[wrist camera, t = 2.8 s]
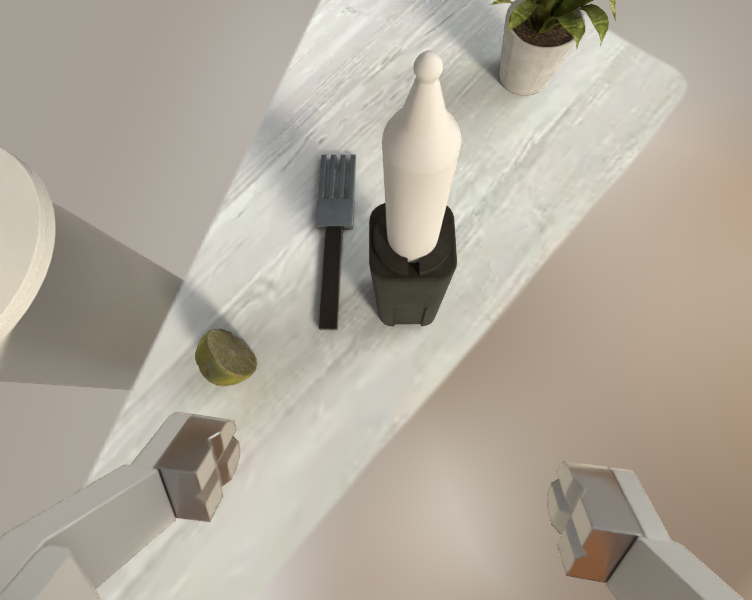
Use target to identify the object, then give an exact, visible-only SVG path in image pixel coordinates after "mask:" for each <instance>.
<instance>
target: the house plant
mask: <svg viewBox="0 0 752 600" xmlns="http://www.w3.org/2000/svg"><path fill="white" fill-rule="evenodd" d="M591 1H593V0H515V1H514V2H512V1H510V0H497V1H494V2H493V3H492V4H490V5H493V4H498V3H511V6H510V7H509V8H508V10H507V14H506V18H505V27H504V35H503V44H502V53H501V61H500V70H499V79H500V81H501V84H502V85H503V86H504V88H506V89H507V90H508V91H510V92H512V93H514V94H518V95H532V94H535V93H537V92H539V91H541V90H542V89H543V88H544V87H545V86H546V84H547V83H548V81H549V80H550V78H551V77H552V76H553V74H554V73H555V71H556V70H557V68H558V67H559V65H560V64H561V63H562V61H563V60H564V58H565V57H566V55H567V54H568V52H569V51H570V49H571V48H572V47H573V45H574V44H575V42H576V47H578V44H579V41H580V40H581V38H582V36H583V34H584V33H585V19H584V14H583V12H582V10H584V11H586V13H587V14H588V16H589V18H590V19H591V21H592V23H593V25H594V27H595V29H596V30H597V31H598V33H599V36H600V39H601V43H602V41H603V38H604V36H605V34H606V32H607V30H608V23H609V22H608V17H607V15H606V13H605V12H604V11H603V10H602V9H601V8H599V7H598V6H596V5H593V4H590V5H585V4H587V3H589V2H591ZM610 4H611V9H612V12H613V15H614V18H615V0H610ZM583 5H584V6H583ZM615 20H616V18H615ZM600 46H601V44H600Z"/></svg>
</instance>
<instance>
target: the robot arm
mask: <svg viewBox="0 0 752 600" xmlns="http://www.w3.org/2000/svg"><path fill="white" fill-rule="evenodd" d="M235 432H236V426H235V422H234V421H233V420H228V419H222V418H215V417H209V416H202V415H196V414H188V413H181V412H175V413H173V414H172V415H170V416H169V417H168V418H167V420H166V421H165V422H164V423H163V425H162V426H161V427H160V428H159V430H158V431H157V432H156V433H155V435H154V436H153V437H152V438H151V440H150V441H149V442H148V443H147V445H146V446H145V447H144V448H143V450H142V451H141V452H140V454H139V455H138V456H137V457H136V459H135V460H134V461H133V462H132V464H131V465H123V466H121V467H119V468H118V469H116V470H114V471H112V472H111V473H109V474H107V475H105V476H104V477H102V478H100V479H98V480H97V481H95V482H93V483H91V484H90V485H88V486H86V487H85V488H83V489H81V490H79V491H78V492H76V493H74V494H72V495H71V496H69V497H67V498H65V499H64V500H62V501H60V502H58V503H57V504H55V505H53V506H52V507H50V508H48V509H46V510H44V511H43V512H41V513H39V514H38V515H36V516H34V517H32V518H31V519H29V520H27V521H25V522H24V523H22V524H20V525H18V526H17V527H15V528H13V529H11V530H10V531H8V532H7V533H5V534H3V535H2V536H1V537H0V600H102V598H101V597H100V595H99V594H98V592H97V591H96V588H97V587H99V586H100V585H101V584H102V583H103V582H104V581H106V580H107V579H108V578H109V577H110V576H111V575H113V574H114V573H115V572H116V571H117V570H118V569H120V568H121V567H122V566H123V565H124V564H125V563H127V562H128V561H129V560H130V559H131V558H132V557H134V556H135V555H136V554H137V553H138V552H139V551H141V550H142V549H143V548H144V547H145V546H146V545H148V544H149V543H150V542H151V541H152V540H153V539H155V538H156V537H157V536H158V535H159V534H160V533H162V532H163V531H164V530H165V529H166V528H167V527H169V526H170V525H171V524H172V523H173V522H174V521H176V518H181V519H189V520H198V521H206V522H210V521H211V519H212V517H213V515H214V513H215V511H216V509H217V507H218V505H219V503H220V501H221V499H222V497H223V493H222V488H221V487H222V486H223V485H225V484H226V483H227V482H229V481H230V480H231V479H232V477H233V475H234V473H235V471H236V469H237V465H238V461H239V458H240V446H239V442H238V441H237V440H236V439H235V438H234V437H233V435H234V434H235ZM556 472H557V475H558V478H559V479H558V480H556V481H554V482H552V483H551V485H550V488H549V490H548V497H547V507H548V514H549V518H550V521H551V525H552V526H553V527H554V528H555V529H556V530H557V531H558V532H559V533H560V535H561V536H560V539H559V541H558V543H557V546H558V550H559V553H560V556H561V560H562V563H563V567H564V570H565V574H566V576H571V577H576V578H582V579H588V580H593V581H599V582H604V583H606V586H607V587H608V589H609V590H610V591H611V593H612V594H613V595H614V597H615V598H616V599H617V600H744V599H743V598H742V597H741V596H740V595H739V594H737V593H736V592H735V591H734V590H733V589H732V588H731V587H729V586H728V585H727V584H726V583H725V582H724V581H723V580H722V579H720V578H719V577H718V576H717V575H716V574H715V573H714V572H712V571H711V570H710V569H709V568H708V567H707V566H706V565H704V564H703V563H702V562H701V561H700V560H699V559H698V558H696V557H695V556H694V555H693V554H692V553H691V552H690V551H689V550H687V549H686V548H685V547H684V546H683V545H682V544H681V543H679V542H673V541H672V540H671V538H670V537H669V535H668V533H667V531H666V529H665V528H664V526H663V524H662V522H661V520H660V518H659V516H658V515H657V513H656V511H655V509H654V507H653V506H652V504H651V502H650V500H649V498H648V496H647V494H646V493H645V491H644V489H643V487H642V485H641V484H640V482H639V480H638V479H637V477H636V475H635V473H633V472H632V471H631V470H628V469H620V468H612V467H605V466H598V465H589V464H581V463H572V462H562V463H560V464H559V466H558V468H557V471H556Z"/></svg>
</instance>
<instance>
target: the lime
mask: <svg viewBox="0 0 752 600" xmlns="http://www.w3.org/2000/svg"><path fill="white" fill-rule="evenodd" d="M195 360H196V363H197V365H198V366H199V369H200V372H201V373H202V375H203V376H204V377H205V378H206V379H207V380H208V381H209V382H211V383H213V384H216V385H219V386H228V385H234V384H237V383H240V382H242V381H244V380H245V379H247V378H249V377H250V376H251V375H252V374H253V373H254V372H255V370H256V367H257V361H256V357H255V355H254V354H253V352H252V351H251V350H250V349H249V347H248V346H247V345H246V344H245V343H244V342H243V341H242V340H240V339H239V338H237V337H236V336H234V335H233V334H232V333H231V332H228V331H226V330H222V329H214V330H210V331H208V332H207V333H206V334H205V335H204V337H203V338H202V340H201V341H200V343H199V344H198V347H197V350H196V353H195Z"/></svg>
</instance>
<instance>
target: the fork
mask: <svg viewBox="0 0 752 600" xmlns="http://www.w3.org/2000/svg"><path fill="white" fill-rule="evenodd" d="M336 163H337V157H336V155H331V166H330V181H329V195H328V199H324V196H325V182H326V168H327V156H326V155H321V168H320V181H319V194H318V202H317V215H316V228H317V229H326V232H325V247H324V262H323V276H322V291H321V305H320V320H319V329H320V330H337V329H338V312H339V294H340V275H341V257H342V239H343V229H353V225H354V204H355V201H354V193H355V172H356V155H351V160H350V180H349V199H344V194H345V176H346V155H341V163H340V180H339V197H338V198H339V199H334V195H335V179H336Z"/></svg>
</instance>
